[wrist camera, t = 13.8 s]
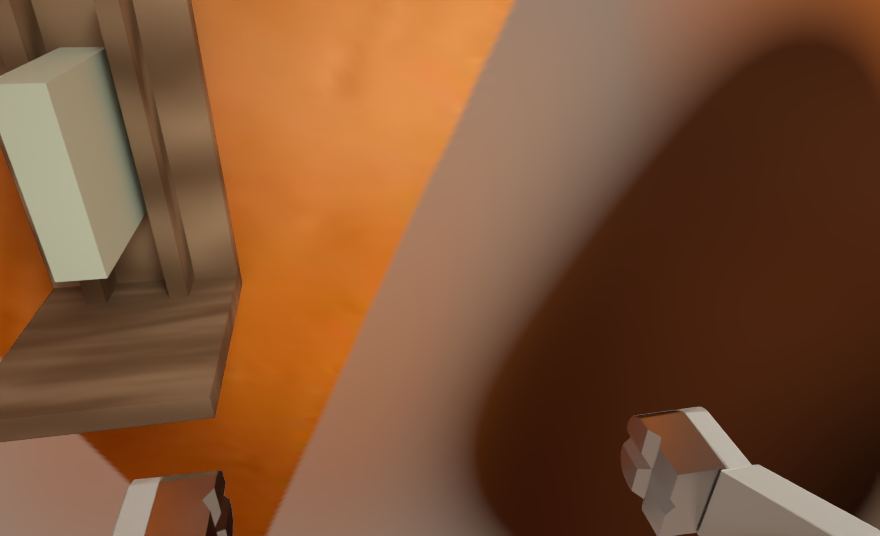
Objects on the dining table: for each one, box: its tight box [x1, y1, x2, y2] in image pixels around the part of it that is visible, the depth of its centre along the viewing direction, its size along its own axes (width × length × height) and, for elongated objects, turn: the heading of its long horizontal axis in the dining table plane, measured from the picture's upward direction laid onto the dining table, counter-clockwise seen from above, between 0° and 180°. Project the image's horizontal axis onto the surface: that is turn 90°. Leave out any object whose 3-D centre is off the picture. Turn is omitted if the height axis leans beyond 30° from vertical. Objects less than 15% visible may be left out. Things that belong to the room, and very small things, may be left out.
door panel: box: [0, 47, 147, 282], centre depth 32 cm, size 10×2×9 cm, turn 179°
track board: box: [0, 0, 242, 442], centre depth 32 cm, size 20×12×14 cm, turn 179°
